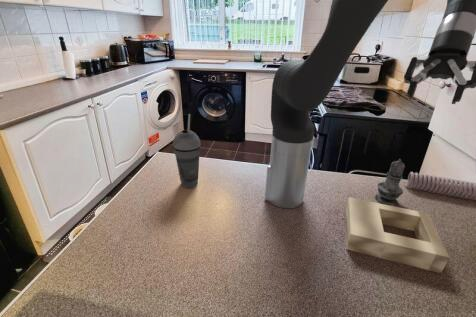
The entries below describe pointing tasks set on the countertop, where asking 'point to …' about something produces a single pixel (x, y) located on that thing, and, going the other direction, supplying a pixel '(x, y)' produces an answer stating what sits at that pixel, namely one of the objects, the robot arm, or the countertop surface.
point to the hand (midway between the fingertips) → (431, 100)
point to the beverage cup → (187, 156)
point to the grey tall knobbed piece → (391, 185)
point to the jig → (390, 245)
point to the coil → (442, 185)
